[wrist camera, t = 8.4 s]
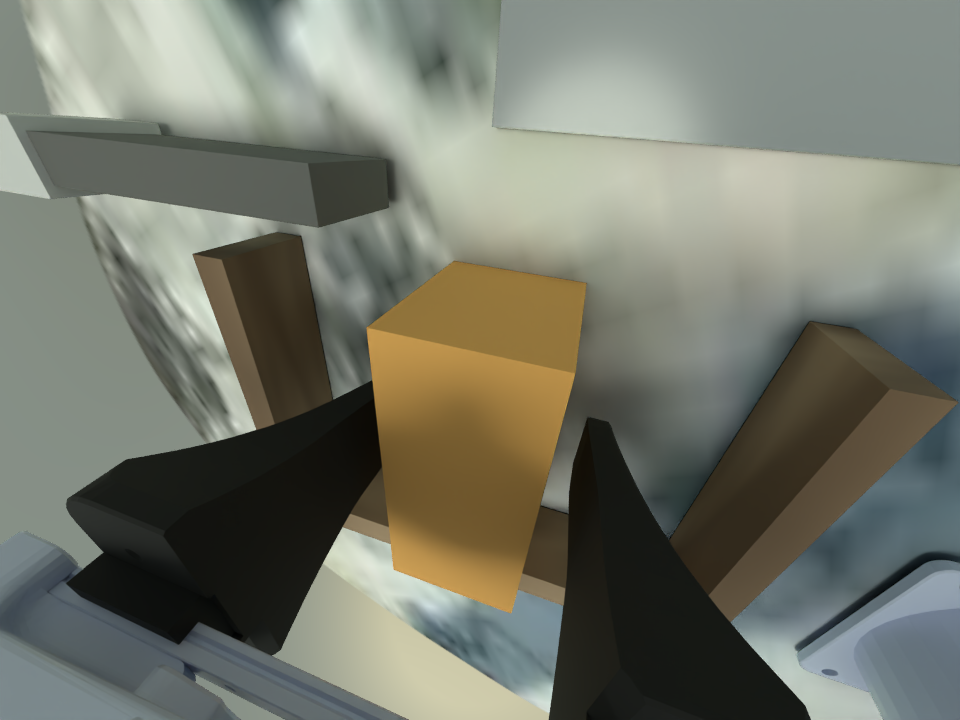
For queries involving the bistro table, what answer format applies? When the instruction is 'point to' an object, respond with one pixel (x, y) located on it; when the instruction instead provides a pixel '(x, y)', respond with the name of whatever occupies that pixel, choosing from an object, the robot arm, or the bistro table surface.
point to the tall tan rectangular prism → (472, 420)
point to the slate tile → (738, 73)
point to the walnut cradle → (726, 495)
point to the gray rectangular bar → (184, 170)
